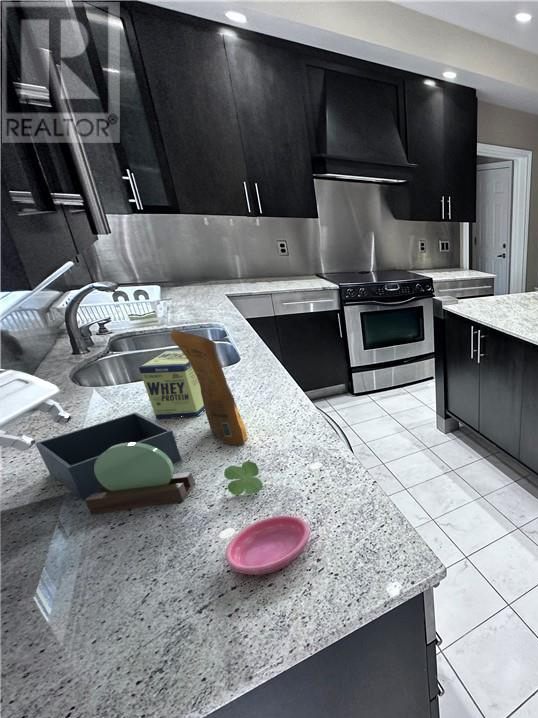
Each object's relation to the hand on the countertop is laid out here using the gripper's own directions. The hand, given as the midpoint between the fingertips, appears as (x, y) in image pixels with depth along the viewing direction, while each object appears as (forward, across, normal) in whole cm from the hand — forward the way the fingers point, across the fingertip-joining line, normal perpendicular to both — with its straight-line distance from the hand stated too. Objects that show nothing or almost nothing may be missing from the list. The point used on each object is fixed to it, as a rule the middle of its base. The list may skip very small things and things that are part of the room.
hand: (50, 432), depth 73 cm
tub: (+11, -14, -13) cm, 22 cm away
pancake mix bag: (+24, -24, 0) cm, 34 cm away
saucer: (+38, +22, +14) cm, 47 cm away
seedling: (+32, 0, +8) cm, 34 cm away
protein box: (+13, -45, -11) cm, 48 cm away
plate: (+14, 0, 0) cm, 14 cm away
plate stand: (+19, 0, -5) cm, 19 cm away
